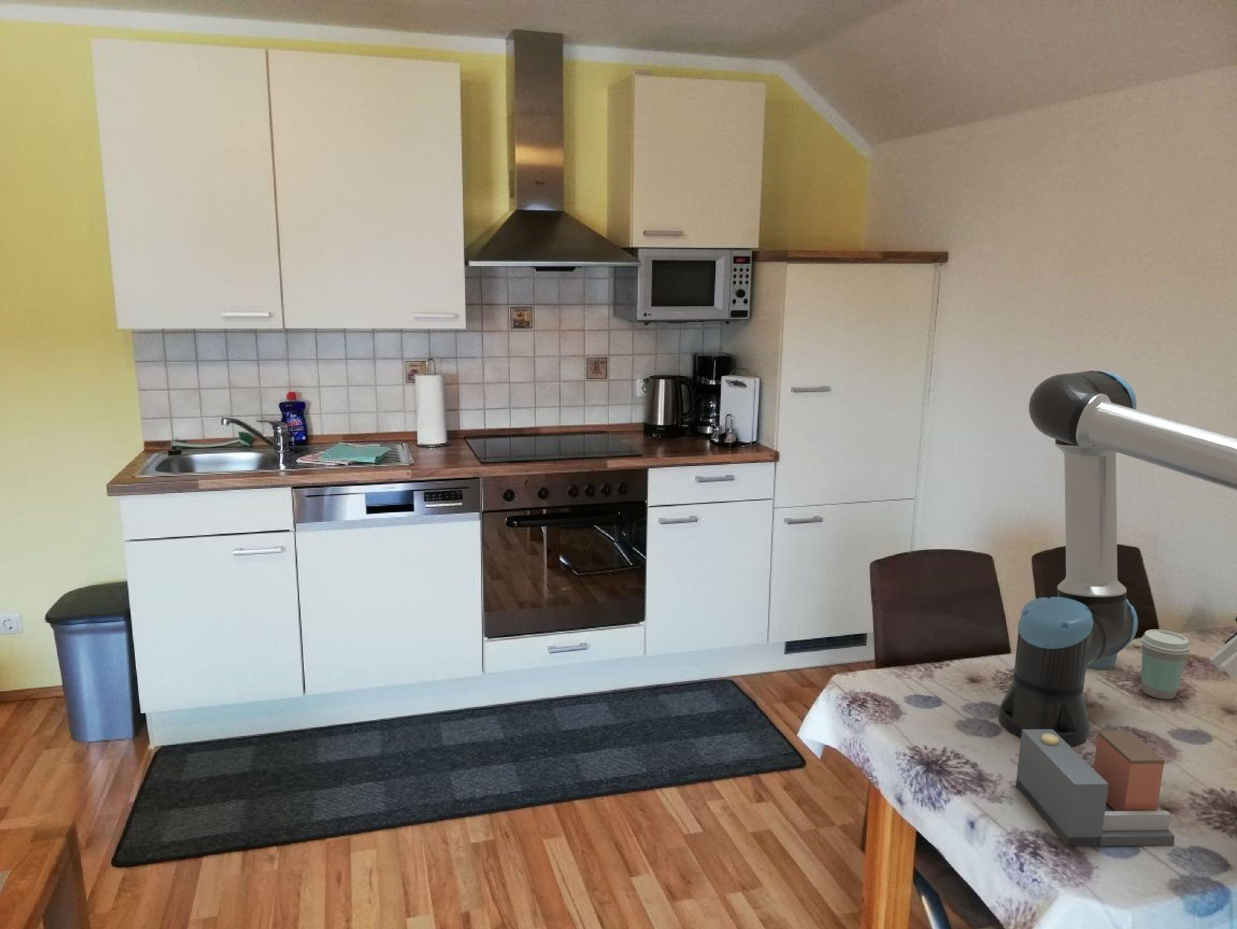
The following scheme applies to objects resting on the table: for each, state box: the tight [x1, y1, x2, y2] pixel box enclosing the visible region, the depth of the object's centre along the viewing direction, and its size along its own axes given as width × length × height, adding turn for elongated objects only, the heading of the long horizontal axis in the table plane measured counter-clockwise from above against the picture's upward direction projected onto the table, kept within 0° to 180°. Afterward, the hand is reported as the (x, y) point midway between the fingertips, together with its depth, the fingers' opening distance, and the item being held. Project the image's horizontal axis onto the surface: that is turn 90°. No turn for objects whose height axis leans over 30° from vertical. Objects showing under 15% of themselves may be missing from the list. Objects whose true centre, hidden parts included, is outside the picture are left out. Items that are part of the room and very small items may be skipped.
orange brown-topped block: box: [1092, 730, 1165, 811], centre depth 139 cm, size 5×9×10 cm, turn 2°
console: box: [1015, 729, 1176, 847], centre depth 139 cm, size 16×16×11 cm
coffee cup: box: [1140, 629, 1192, 700], centre depth 181 cm, size 8×8×12 cm
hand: (1221, 668), depth 136 cm, fingers open, 2 cm apart
